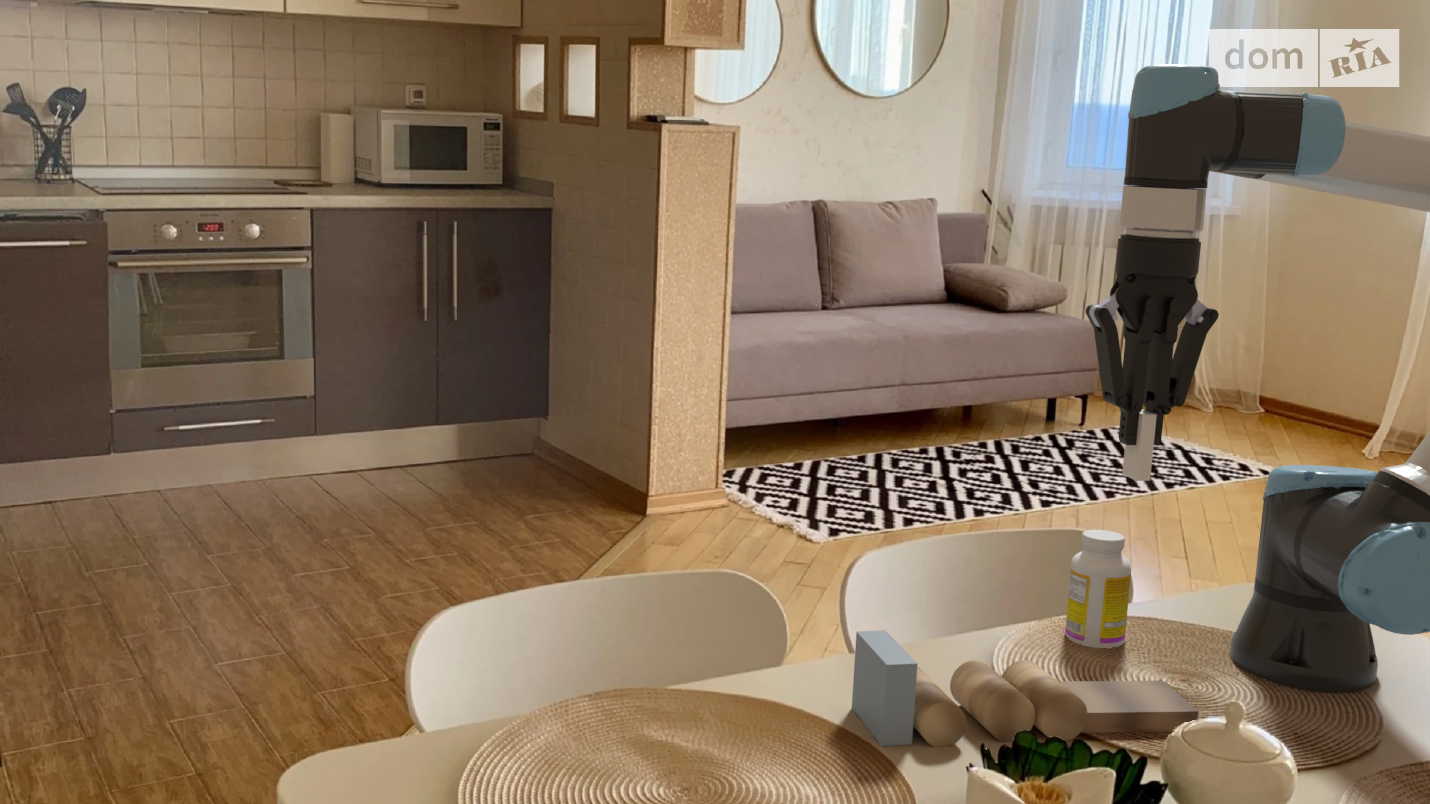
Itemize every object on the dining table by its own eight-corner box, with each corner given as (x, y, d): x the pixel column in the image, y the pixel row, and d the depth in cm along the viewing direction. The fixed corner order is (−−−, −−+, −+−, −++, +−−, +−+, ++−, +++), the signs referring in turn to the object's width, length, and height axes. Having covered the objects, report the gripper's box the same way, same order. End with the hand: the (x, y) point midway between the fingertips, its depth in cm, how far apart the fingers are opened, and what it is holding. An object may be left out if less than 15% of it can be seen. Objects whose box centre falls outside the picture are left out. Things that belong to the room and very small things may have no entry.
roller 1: (932, 694, 142) (894, 713, 141) (918, 657, 141) (879, 676, 140) (972, 735, 132) (931, 755, 132) (957, 695, 131) (915, 716, 131)
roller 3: (1051, 671, 143) (1027, 712, 143) (1014, 652, 141) (991, 693, 142) (1096, 706, 134) (1071, 749, 135) (1058, 686, 133) (1032, 730, 133)
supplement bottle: (1128, 639, 163) (1138, 532, 161) (1119, 657, 157) (1129, 546, 155) (1070, 629, 166) (1079, 523, 164) (1058, 646, 160) (1068, 537, 158)
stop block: (880, 706, 140) (885, 630, 139) (911, 744, 132) (917, 663, 130) (851, 708, 140) (856, 631, 138) (881, 746, 131) (886, 664, 130)
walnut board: (1160, 703, 146) (1162, 680, 145) (1195, 735, 138) (1198, 711, 137) (1049, 704, 144) (1051, 681, 144) (1078, 737, 136) (1081, 712, 136)
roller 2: (951, 661, 141) (995, 658, 142) (948, 706, 142) (992, 703, 143) (990, 696, 132) (1037, 693, 133) (986, 744, 133) (1033, 740, 134)
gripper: (1200, 232, 137) (1176, 467, 142) (1078, 229, 135) (1056, 469, 139) (1244, 238, 130) (1217, 486, 135) (1116, 234, 127) (1092, 487, 132)
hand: (1136, 477), depth 137 cm, fingers closed
